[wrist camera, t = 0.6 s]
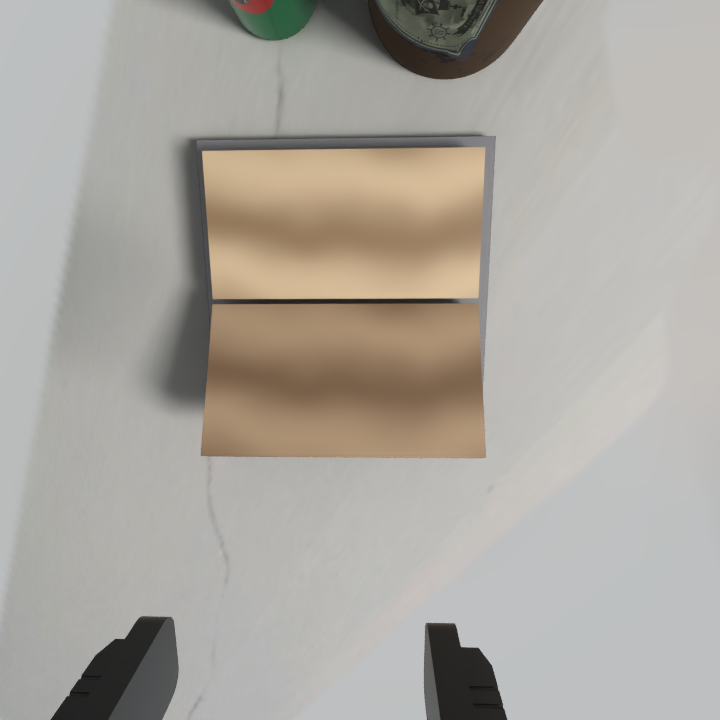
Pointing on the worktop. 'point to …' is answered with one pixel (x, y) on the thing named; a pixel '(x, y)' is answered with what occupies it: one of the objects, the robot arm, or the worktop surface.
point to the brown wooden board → (344, 381)
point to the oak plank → (345, 223)
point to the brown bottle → (449, 32)
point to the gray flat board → (366, 144)
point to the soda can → (273, 16)
